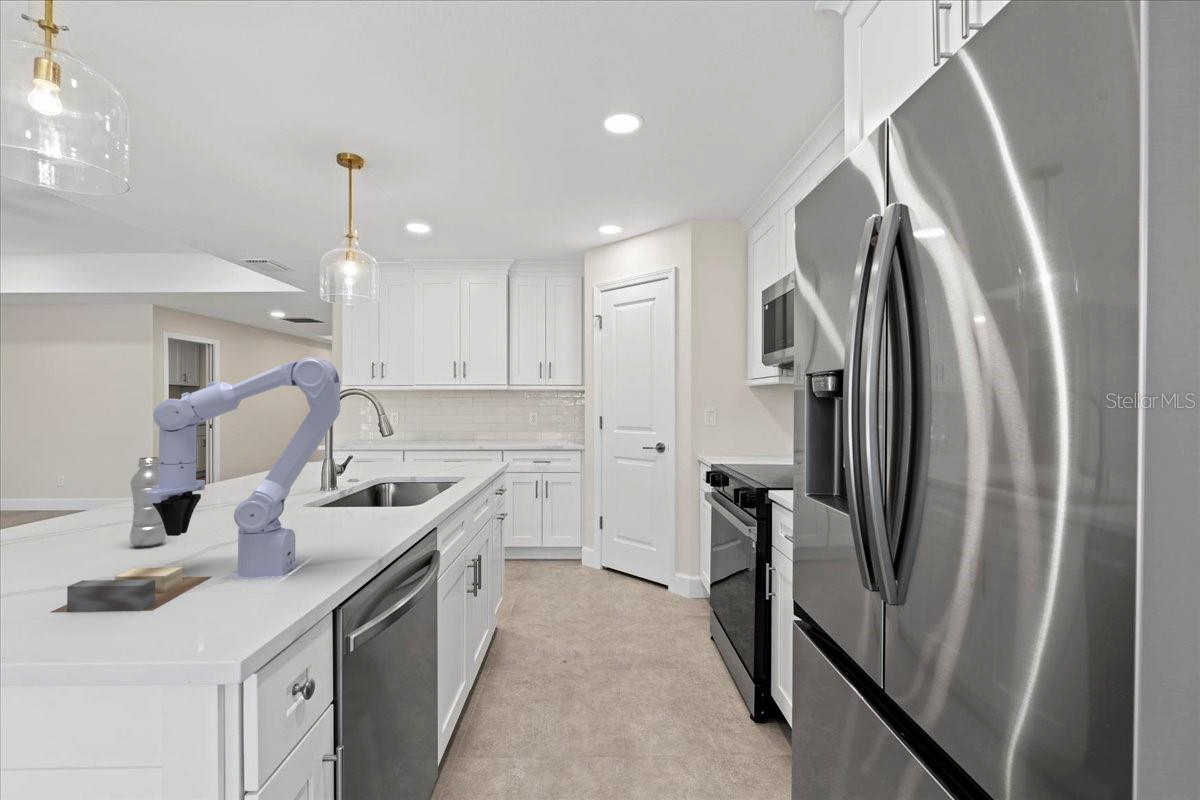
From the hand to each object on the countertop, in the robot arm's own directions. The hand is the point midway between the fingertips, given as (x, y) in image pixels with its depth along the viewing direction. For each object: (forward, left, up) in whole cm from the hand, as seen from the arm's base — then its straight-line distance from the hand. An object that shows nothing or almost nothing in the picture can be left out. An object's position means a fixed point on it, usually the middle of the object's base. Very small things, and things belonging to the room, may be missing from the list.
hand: (176, 534), depth 109 cm
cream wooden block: (0, +7, -8) cm, 11 cm away
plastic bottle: (+20, -24, -9) cm, 32 cm away
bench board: (0, +9, -8) cm, 13 cm away
